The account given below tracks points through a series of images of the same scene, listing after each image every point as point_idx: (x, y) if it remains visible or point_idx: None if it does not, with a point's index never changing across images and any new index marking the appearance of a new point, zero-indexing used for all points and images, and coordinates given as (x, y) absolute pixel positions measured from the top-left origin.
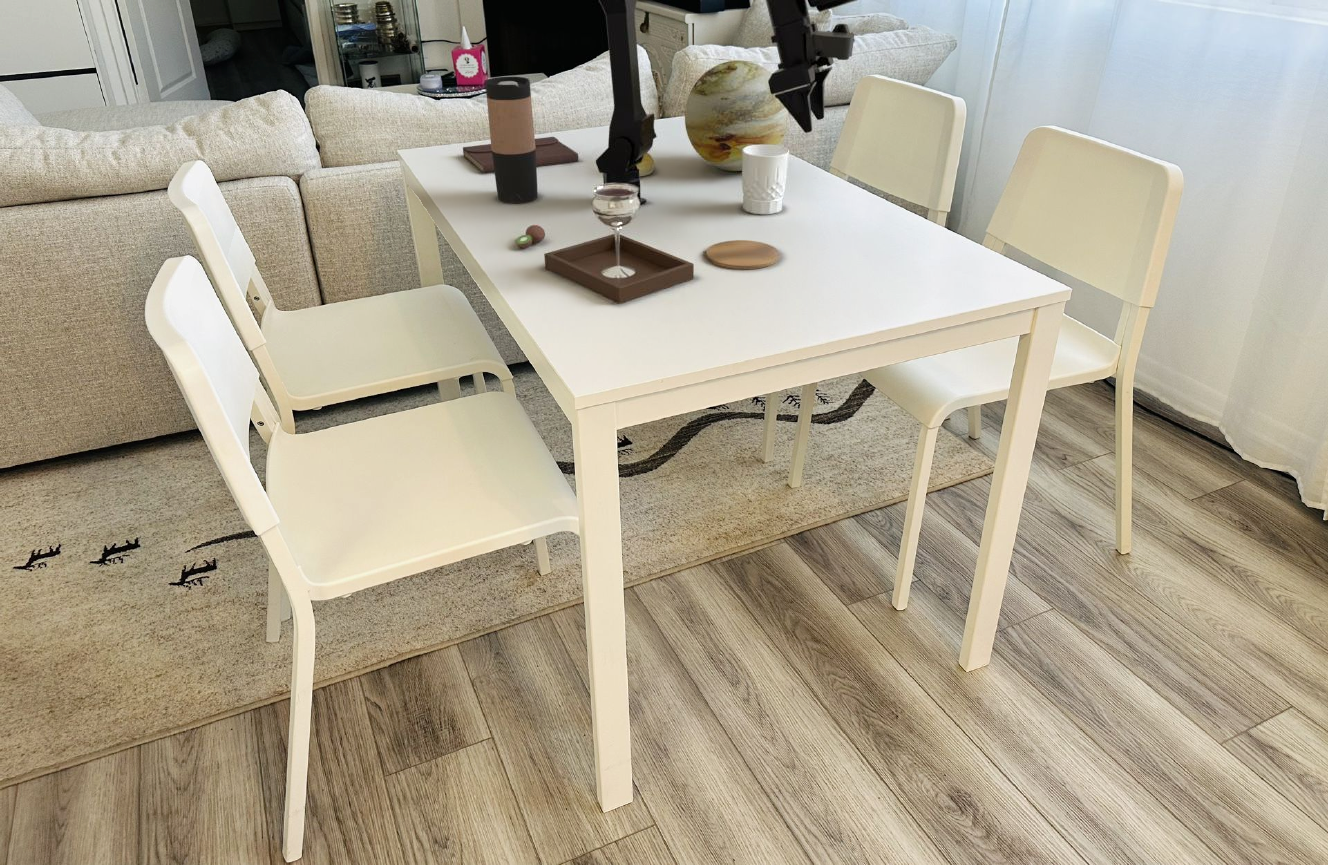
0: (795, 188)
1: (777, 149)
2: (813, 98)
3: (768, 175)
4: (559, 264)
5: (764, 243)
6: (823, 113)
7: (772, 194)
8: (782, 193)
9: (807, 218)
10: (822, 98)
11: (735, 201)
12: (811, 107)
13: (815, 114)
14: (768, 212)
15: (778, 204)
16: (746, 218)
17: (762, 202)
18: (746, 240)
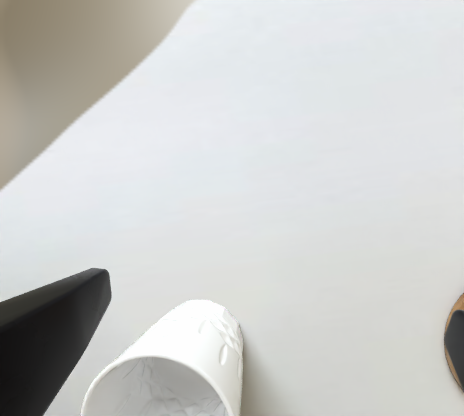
0: None
1: (95, 390)
2: (5, 407)
3: (236, 375)
4: None
5: (461, 308)
6: (92, 278)
7: (233, 336)
8: (206, 312)
9: (240, 238)
10: (7, 331)
11: None
12: (61, 375)
13: (94, 324)
14: (238, 325)
15: (219, 311)
16: (272, 365)
17: (241, 349)
18: None
